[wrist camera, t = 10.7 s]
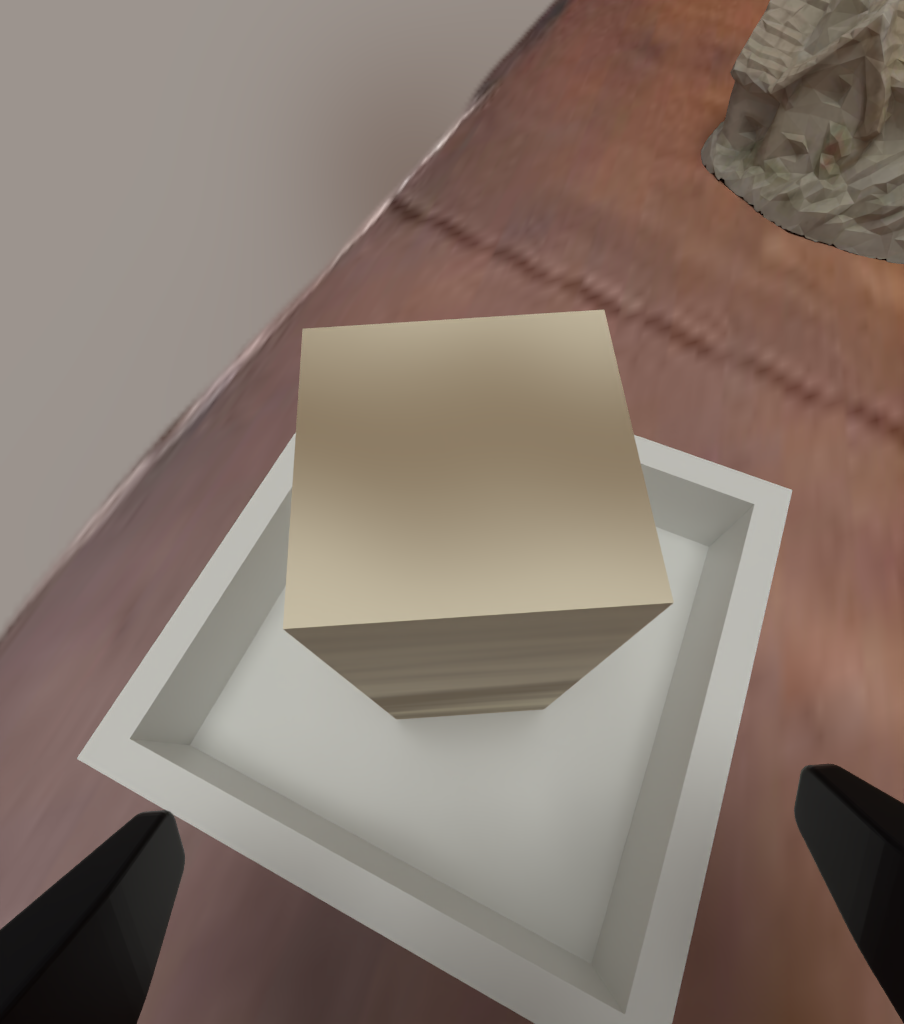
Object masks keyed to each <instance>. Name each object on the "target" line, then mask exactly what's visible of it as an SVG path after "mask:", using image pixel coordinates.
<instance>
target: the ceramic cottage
mask: <svg viewBox="0 0 904 1024" xmlns="http://www.w3.org/2000/svg"><path fill="white" fill-rule="evenodd" d="M730 73H731V75H732V77H733V78H734V80H735V84H734V87H733V90H732V93H731V96H730V101H729V105H728V109H727V114H726V118H725V121H724V122H722V123H721V124H720V125H719V126H718V127H717V129H715V130H714V131H713V133H712V134H711V135H710V136H709V138H708V139H707V141H706V142H705V144H704V146H703V148H702V150H701V160H702V164H703V165H704V166H705V165H706V169H707V170H708V171H709V172H710V173H715V176H716V178H717V179H718V180H719V179H720V178H722V179H724V180H725V185H726V186H727V187H728V188H729V190H732V191H733V192H734V193H735V194H736V195H738V196H741V197H743V198H744V201H746V202H748V203H749V204H752V205H754V210H756V211H757V212H758V211H761V215H762V213H763V216H764V218H766V219H768V220H770V221H773V222H775V224H776V225H777V226H781V227H782V229H787V230H789V231H791V232H794V233H796V234H799V235H805V237H806V238H808V239H811V240H813V241H815V242H818V241H821V242H824V243H827V244H829V245H831V244H834V245H835V246H836V247H837V248H838V249H841V250H846V251H848V252H850V253H854V254H857V255H861V256H865V257H869V258H878V259H887V262H892V263H898V264H904V0H770V2H769V4H768V7H767V9H766V11H765V13H764V15H763V16H762V18H761V20H760V21H759V23H758V24H757V26H756V28H755V29H754V31H753V33H752V35H751V36H750V38H749V40H748V41H747V43H746V45H745V47H744V48H743V50H742V52H741V53H740V55H739V57H738V58H737V60H736V62H735V64H734V66H733V68H732V70H731V72H730Z"/></svg>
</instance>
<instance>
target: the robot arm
mask: <svg viewBox="0 0 904 1024" xmlns="http://www.w3.org/2000/svg"><path fill="white" fill-rule="evenodd" d="M794 812H795V819H796V823H797V826H798V828H799V830H800V832H801V834H802V836H803V838H804V840H805V842H806V844H807V846H808V848H809V850H810V852H811V854H812V856H813V858H814V861H815V863H816V865H817V867H818V869H819V871H820V873H821V875H822V877H823V879H824V881H825V883H826V885H827V887H828V889H829V891H830V893H831V895H832V897H833V899H834V901H835V903H836V905H837V907H838V909H839V911H840V913H841V915H842V917H843V919H844V921H845V923H846V925H847V927H848V929H849V931H850V933H851V934H852V936H853V938H854V940H855V942H856V944H857V946H858V948H859V949H860V951H861V953H862V954H863V956H864V958H865V960H866V961H867V963H868V965H869V967H870V968H871V970H872V972H873V973H874V975H875V977H876V978H877V980H878V981H879V983H880V985H881V986H882V988H883V990H884V991H885V993H886V995H887V996H888V998H889V1000H890V1001H891V1003H892V1005H893V1006H894V1008H895V1010H896V1011H897V1013H898V1015H899V1016H900V1018H901V1019H902V1021H903V1023H904V804H903V803H902V802H900V801H898V800H896V799H895V798H893V797H891V796H890V795H888V794H886V793H884V792H883V791H881V790H879V789H878V788H876V787H874V786H872V785H871V784H869V783H867V782H865V781H864V780H862V779H860V778H859V777H857V776H855V775H853V774H852V773H850V772H848V771H846V770H845V769H843V768H841V767H839V766H837V765H834V764H820V765H808V766H805V767H804V768H803V769H802V771H801V774H800V779H799V785H798V791H797V796H796V802H795V808H794ZM184 864H185V854H184V849H183V845H182V842H181V838H180V835H179V831H178V828H177V824H176V821H175V818H174V815H173V814H172V813H171V812H170V811H167V810H162V811H148V812H142V813H140V814H138V815H136V816H135V817H133V818H132V819H131V820H130V821H129V822H128V823H126V824H125V825H124V826H123V827H122V828H120V829H119V830H118V831H117V832H116V833H114V834H113V835H112V836H111V837H110V838H109V839H107V840H106V841H105V842H104V843H103V844H101V845H100V846H99V847H98V848H97V849H95V850H94V851H93V852H92V853H91V854H90V855H88V856H87V857H86V858H85V859H84V860H82V861H81V862H80V863H79V864H78V865H76V866H75V867H74V868H73V869H72V870H71V871H69V872H68V873H67V874H66V875H65V876H63V877H62V878H61V879H60V880H59V881H57V882H56V883H55V884H54V885H53V886H52V887H50V888H49V889H48V890H47V891H46V892H44V893H43V894H42V895H41V896H40V897H38V898H37V899H36V900H35V901H34V902H33V903H31V904H30V905H29V906H28V907H27V908H25V909H24V910H23V911H22V912H21V913H19V914H18V915H17V916H16V917H15V918H14V919H12V920H11V921H10V922H9V923H8V924H6V925H5V926H4V927H3V928H2V929H0V1024H137V1021H138V1018H139V1016H140V1013H141V1010H142V1007H143V1005H144V1002H145V999H146V996H147V993H148V990H149V987H150V983H151V980H152V977H153V974H154V970H155V967H156V963H157V960H158V956H159V953H160V950H161V946H162V943H163V939H164V936H165V932H166V929H167V926H168V922H169V919H170V915H171V912H172V908H173V905H174V901H175V898H176V895H177V891H178V888H179V884H180V881H181V877H182V874H183V870H184Z"/></svg>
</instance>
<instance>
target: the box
mask: <svg viewBox="0 0 904 1024" xmlns="http://www.w3.org/2000/svg"><path fill="white" fill-rule="evenodd" d="M295 438H296V433H295V434H294V436H293V437H292V439H291V440H290V442H289V443H288V445H287V446H286V448H285V449H284V451H283V452H282V454H281V455H280V457H279V458H278V459H277V461H276V462H275V464H274V465H273V467H272V468H271V470H270V471H269V473H268V474H267V476H266V477H265V479H264V480H263V482H262V483H261V485H260V486H259V488H258V489H257V491H256V492H255V494H254V495H253V497H252V498H251V500H250V501H249V503H248V504H247V506H246V507H245V509H244V510H243V512H242V513H241V515H240V516H239V518H238V519H237V521H236V522H235V524H234V525H233V527H232V528H231V530H230V531H229V533H228V534H227V536H226V537H225V538H224V540H223V541H222V543H221V544H220V546H219V547H218V549H217V550H216V552H215V553H214V555H213V556H212V558H211V559H210V561H209V562H208V564H207V565H206V567H205V568H204V570H203V571H202V573H201V574H200V576H199V577H198V579H197V580H196V582H195V583H194V585H193V586H192V588H191V589H190V591H189V592H188V594H187V595H186V597H185V598H184V600H183V601H182V603H181V604H180V606H179V607H178V609H177V610H176V612H175V613H174V614H173V616H172V617H171V619H170V620H169V622H168V623H167V625H166V626H165V628H164V629H163V631H162V632H161V634H160V635H159V637H158V638H157V640H156V641H155V643H154V644H153V646H152V647H151V649H150V650H149V652H148V653H147V655H146V656H145V658H144V659H143V661H142V662H141V664H140V665H139V667H138V668H137V670H136V671H135V673H134V674H133V676H132V677H131V679H130V680H129V682H128V683H127V685H126V686H125V688H124V689H123V691H122V692H121V693H120V695H119V696H118V698H117V699H116V701H115V702H114V704H113V705H112V707H111V708H110V710H109V711H108V713H107V714H106V716H105V717H104V719H103V720H102V722H101V723H100V725H99V726H98V728H97V729H96V731H95V732H94V734H93V735H92V737H91V738H90V740H89V741H88V743H87V744H86V746H85V747H84V749H83V750H82V752H81V753H80V755H79V756H78V758H77V759H78V760H80V761H82V762H84V763H85V764H87V765H89V766H90V767H92V768H94V769H96V770H97V771H99V772H101V773H103V774H104V775H106V776H108V777H110V778H111V779H113V780H115V781H116V782H118V783H120V784H122V785H123V786H125V787H127V788H129V789H130V790H132V791H134V792H135V793H137V794H139V795H141V796H142V797H144V798H146V799H148V800H149V801H151V802H153V803H154V804H156V805H158V806H160V807H161V808H163V809H165V810H167V811H170V812H171V813H172V814H173V815H175V816H177V817H179V818H180V819H182V820H184V821H186V822H187V823H189V824H191V825H192V826H194V827H196V828H198V829H199V830H201V831H203V832H205V833H206V834H208V835H210V836H211V837H213V838H215V839H217V840H218V841H220V842H222V843H224V844H225V845H227V846H229V847H230V848H232V849H234V850H236V851H237V852H239V853H241V854H243V855H244V856H246V857H248V858H250V859H251V860H253V861H255V862H256V863H258V864H260V865H262V866H263V867H265V868H267V869H269V870H270V871H272V872H274V873H275V874H277V875H279V876H281V877H282V878H284V879H286V880H288V881H289V882H291V883H293V884H294V885H296V886H298V887H300V888H301V889H303V890H305V891H307V892H308V893H310V894H312V895H313V896H315V897H317V898H319V899H320V900H322V901H324V902H326V903H327V904H329V905H331V906H332V907H334V908H336V909H338V910H339V911H341V912H343V913H345V914H346V915H348V916H350V917H351V918H353V919H355V920H357V921H358V922H360V923H362V924H364V925H365V926H367V927H369V928H371V929H372V930H374V931H376V932H377V933H379V934H381V935H383V936H384V937H386V938H388V939H390V940H391V941H393V942H395V943H396V944H398V945H400V946H402V947H403V948H405V949H407V950H409V951H410V952H412V953H414V954H415V955H417V956H419V957H421V958H422V959H424V960H426V961H428V962H429V963H431V964H433V965H434V966H436V967H438V968H440V969H441V970H443V971H445V972H447V973H448V974H450V975H452V976H453V977H455V978H457V979H459V980H460V981H462V982H464V983H466V984H467V985H469V986H471V987H472V988H474V989H476V990H478V991H479V992H481V993H483V994H485V995H486V996H488V997H490V998H491V999H493V1000H495V1001H497V1002H498V1003H500V1004H502V1005H504V1006H505V1007H507V1008H509V1009H511V1010H512V1011H514V1012H516V1013H517V1014H519V1015H521V1016H523V1017H524V1018H526V1019H528V1020H530V1021H531V1022H533V1023H535V1024H672V1022H673V1017H674V1013H675V1008H676V1004H677V999H678V995H679V991H680V986H681V982H682V977H683V973H684V968H685V964H686V960H687V955H688V951H689V946H690V942H691V937H692V933H693V929H694V924H695V920H696V915H697V911H698V906H699V902H700V897H701V893H702V889H703V884H704V880H705V875H706V871H707V866H708V862H709V858H710V853H711V849H712V844H713V840H714V835H715V831H716V826H717V822H718V818H719V813H720V809H721V804H722V800H723V795H724V791H725V787H726V782H727V778H728V773H729V769H730V764H731V760H732V756H733V751H734V747H735V742H736V738H737V733H738V729H739V724H740V720H741V716H742V711H743V707H744V702H745V698H746V693H747V689H748V685H749V680H750V676H751V671H752V667H753V662H754V658H755V654H756V649H757V645H758V640H759V636H760V631H761V627H762V622H763V618H764V614H765V609H766V605H767V600H768V596H769V591H770V587H771V583H772V578H773V574H774V569H775V565H776V560H777V556H778V551H779V547H780V543H781V538H782V534H783V529H784V525H785V520H786V516H787V512H788V507H789V503H790V498H791V494H792V490H791V489H788V488H785V487H782V486H779V485H776V484H773V483H771V482H768V481H765V480H762V479H759V478H756V477H753V476H751V475H748V474H745V473H742V472H739V471H736V470H733V469H730V468H728V467H725V466H722V465H719V464H716V463H713V462H710V461H708V460H705V459H702V458H699V457H696V456H693V455H690V454H687V453H685V452H682V451H679V450H676V449H673V448H670V447H667V446H665V445H662V444H659V443H656V442H653V441H650V440H647V439H645V438H642V437H639V436H636V435H634V438H635V442H636V446H637V450H638V454H639V459H640V463H641V467H642V471H643V475H644V480H645V484H646V488H647V492H648V497H649V501H650V505H651V509H652V513H653V518H654V522H655V526H656V530H657V534H658V539H659V543H660V547H661V551H662V555H663V560H664V564H665V568H666V572H667V576H668V581H669V585H670V589H671V593H672V598H673V602H674V603H673V604H672V605H670V606H669V607H668V608H667V609H666V610H664V611H663V612H662V613H661V614H659V615H658V616H657V617H656V618H655V619H653V620H652V621H651V622H650V623H649V624H647V625H646V626H645V627H644V628H642V629H641V630H640V631H639V632H638V633H636V634H635V635H634V636H633V637H631V638H630V639H629V640H628V641H627V642H625V643H624V644H623V645H622V646H621V647H619V648H618V649H617V650H616V651H614V652H613V653H612V654H611V655H610V656H608V657H607V658H606V659H605V660H604V661H602V662H601V663H600V664H599V665H597V666H596V667H595V668H594V669H593V670H591V671H590V672H589V673H588V674H587V675H585V676H584V677H583V678H582V679H580V680H579V681H578V682H577V683H576V684H574V685H573V686H572V687H571V688H569V689H568V690H567V691H566V692H565V693H563V694H562V695H561V696H560V697H559V698H557V699H556V700H555V701H554V702H552V703H551V704H550V705H549V706H548V707H546V708H545V709H543V710H528V711H513V712H499V713H484V714H470V715H455V716H440V717H426V718H411V719H397V720H396V719H395V718H394V717H393V716H391V715H390V714H389V713H388V712H386V711H385V710H384V709H383V708H381V707H380V706H379V705H378V704H376V703H375V702H374V701H373V700H371V699H370V698H369V697H368V696H366V695H365V694H364V693H363V692H361V691H360V690H359V689H358V688H356V687H355V686H354V685H352V684H351V683H350V682H349V681H347V680H346V679H345V678H344V677H342V676H341V675H340V674H339V673H337V672H336V671H335V670H334V669H332V668H331V667H330V666H329V665H327V664H326V663H325V662H324V661H322V660H321V659H320V658H319V657H317V656H316V655H315V654H314V653H312V652H311V651H310V650H309V649H307V648H306V647H305V646H303V645H302V644H301V643H300V642H298V641H297V640H296V639H295V638H293V637H292V636H291V635H290V634H288V633H287V632H286V631H285V630H283V618H284V603H285V588H286V573H287V558H288V543H289V528H290V513H291V498H292V483H293V468H294V453H295Z"/></svg>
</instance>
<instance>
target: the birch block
mask: <svg viewBox="0 0 904 1024" xmlns="http://www.w3.org/2000/svg"><path fill="white" fill-rule="evenodd" d="M673 603H674V602H673V598H672V593H671V589H670V585H669V581H668V576H667V572H666V568H665V564H664V560H663V555H662V551H661V547H660V543H659V539H658V534H657V530H656V526H655V522H654V518H653V513H652V509H651V505H650V501H649V497H648V492H647V488H646V484H645V480H644V475H643V471H642V467H641V463H640V459H639V454H638V450H637V446H636V442H635V438H634V433H633V429H632V425H631V421H630V417H629V412H628V408H627V404H626V400H625V396H624V391H623V387H622V383H621V379H620V375H619V370H618V366H617V362H616V358H615V353H614V349H613V345H612V341H611V337H610V332H609V328H608V324H607V320H606V316H605V311H604V310H592V311H577V312H561V313H545V314H529V315H514V316H498V317H482V318H466V319H451V320H435V321H419V322H403V323H387V324H372V325H356V326H340V327H324V328H309V329H303V333H302V348H301V363H300V378H299V393H298V408H297V423H296V438H295V453H294V468H293V483H292V498H291V513H290V528H289V543H288V558H287V573H286V588H285V603H284V618H283V630H285V631H286V632H287V633H288V634H290V635H291V636H292V637H293V638H295V639H296V640H297V641H298V642H300V643H301V644H302V645H303V646H305V647H306V648H307V649H309V650H310V651H311V652H312V653H314V654H315V655H316V656H317V657H319V658H320V659H321V660H322V661H324V662H325V663H326V664H327V665H329V666H330V667H331V668H332V669H334V670H335V671H336V672H337V673H339V674H340V675H341V676H342V677H344V678H345V679H346V680H347V681H349V682H350V683H351V684H352V685H354V686H355V687H356V688H358V689H359V690H360V691H361V692H363V693H364V694H365V695H366V696H368V697H369V698H370V699H371V700H373V701H374V702H375V703H376V704H378V705H379V706H380V707H381V708H383V709H384V710H385V711H386V712H388V713H389V714H390V715H391V716H393V717H394V718H395V719H396V720H397V719H411V718H426V717H440V716H455V715H470V714H484V713H499V712H513V711H528V710H543V709H545V708H546V707H548V706H549V705H550V704H551V703H552V702H554V701H555V700H556V699H557V698H559V697H560V696H561V695H562V694H563V693H565V692H566V691H567V690H568V689H569V688H571V687H572V686H573V685H574V684H576V683H577V682H578V681H579V680H580V679H582V678H583V677H584V676H585V675H587V674H588V673H589V672H590V671H591V670H593V669H594V668H595V667H596V666H597V665H599V664H600V663H601V662H602V661H604V660H605V659H606V658H607V657H608V656H610V655H611V654H612V653H613V652H614V651H616V650H617V649H618V648H619V647H621V646H622V645H623V644H624V643H625V642H627V641H628V640H629V639H630V638H631V637H633V636H634V635H635V634H636V633H638V632H639V631H640V630H641V629H642V628H644V627H645V626H646V625H647V624H649V623H650V622H651V621H652V620H653V619H655V618H656V617H657V616H658V615H659V614H661V613H662V612H663V611H664V610H666V609H667V608H668V607H669V606H670V605H672V604H673Z"/></svg>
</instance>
